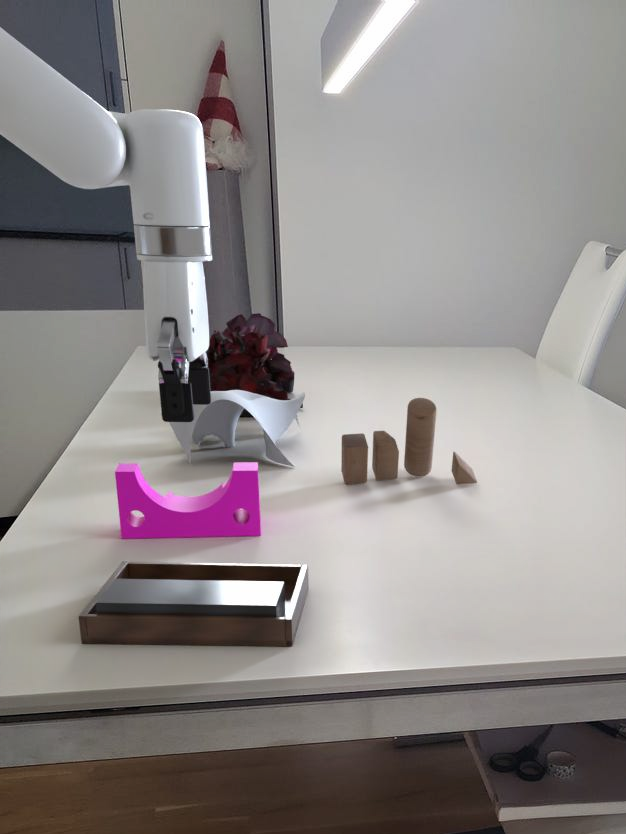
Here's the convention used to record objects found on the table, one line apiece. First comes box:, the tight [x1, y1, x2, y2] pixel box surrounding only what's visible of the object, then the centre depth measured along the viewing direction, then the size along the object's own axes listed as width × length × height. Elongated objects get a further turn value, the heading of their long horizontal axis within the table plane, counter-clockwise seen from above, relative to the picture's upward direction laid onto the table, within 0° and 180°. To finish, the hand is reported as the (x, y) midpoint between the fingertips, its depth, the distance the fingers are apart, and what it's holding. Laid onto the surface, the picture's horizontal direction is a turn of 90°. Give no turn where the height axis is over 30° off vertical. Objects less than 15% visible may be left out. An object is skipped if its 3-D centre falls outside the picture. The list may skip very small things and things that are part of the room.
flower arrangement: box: [203, 312, 304, 418], centre depth 187 cm, size 31×20×15 cm, turn 13°
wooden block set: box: [340, 397, 478, 485], centre depth 140 cm, size 18×9×10 cm, turn 105°
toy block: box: [114, 461, 262, 540], centre depth 116 cm, size 15×6×8 cm, turn 101°
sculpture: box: [169, 390, 306, 468], centre depth 154 cm, size 25×19×10 cm
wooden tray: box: [77, 561, 310, 647], centre depth 94 cm, size 18×14×4 cm
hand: (188, 412), depth 113 cm, fingers open, 9 cm apart
